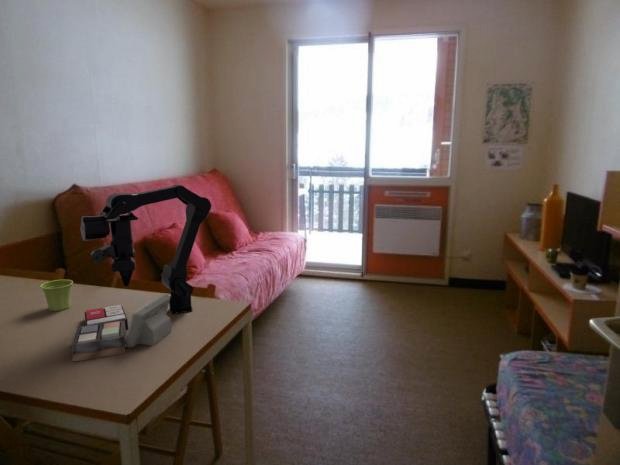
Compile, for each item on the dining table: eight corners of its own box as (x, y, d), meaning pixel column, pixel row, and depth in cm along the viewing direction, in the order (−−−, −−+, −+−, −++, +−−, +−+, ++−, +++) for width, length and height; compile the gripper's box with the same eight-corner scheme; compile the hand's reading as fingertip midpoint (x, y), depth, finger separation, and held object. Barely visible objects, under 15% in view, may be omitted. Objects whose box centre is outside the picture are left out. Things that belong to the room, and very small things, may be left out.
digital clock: (159, 324, 124) (157, 291, 122) (182, 329, 121) (180, 295, 119) (116, 346, 110) (112, 309, 108) (140, 353, 106) (137, 315, 104)
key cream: (97, 340, 109) (96, 332, 108) (96, 346, 105) (95, 338, 105) (80, 342, 107) (79, 335, 107) (78, 349, 104) (77, 341, 103)
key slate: (99, 332, 114) (98, 324, 113) (97, 337, 110) (97, 330, 110) (82, 334, 112) (82, 327, 112) (81, 340, 109) (80, 332, 108)
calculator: (122, 303, 133) (127, 316, 120) (123, 315, 133) (128, 330, 120) (84, 309, 127) (85, 324, 114) (85, 322, 128) (86, 338, 115)
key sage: (119, 334, 111) (118, 326, 110) (119, 340, 107) (118, 332, 107) (103, 336, 109) (102, 329, 109) (102, 342, 106) (101, 335, 105)
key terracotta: (120, 328, 116) (119, 321, 116) (120, 334, 112) (119, 327, 112) (104, 331, 114) (104, 323, 114) (104, 336, 111) (103, 329, 110)
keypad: (125, 331, 119) (124, 318, 118) (125, 352, 106) (123, 338, 106) (79, 338, 114) (78, 325, 113) (72, 361, 102) (71, 347, 101)
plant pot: (78, 301, 143) (75, 278, 142) (72, 311, 134) (69, 286, 133) (48, 304, 140) (45, 280, 139) (39, 314, 132) (36, 289, 130)
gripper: (94, 232, 125) (99, 280, 128) (88, 244, 108) (93, 299, 111) (133, 229, 129) (137, 276, 132) (133, 241, 113) (137, 294, 116)
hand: (126, 286), depth 123 cm, fingers closed
